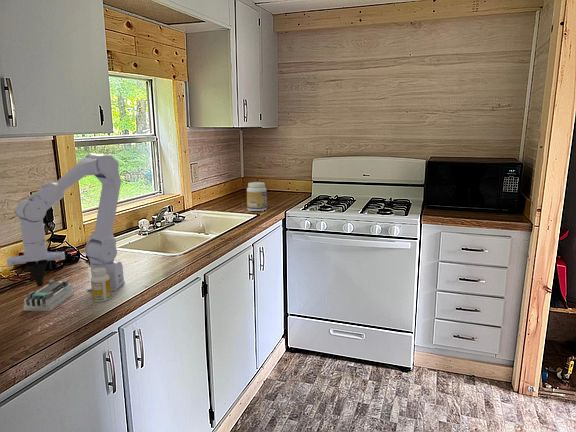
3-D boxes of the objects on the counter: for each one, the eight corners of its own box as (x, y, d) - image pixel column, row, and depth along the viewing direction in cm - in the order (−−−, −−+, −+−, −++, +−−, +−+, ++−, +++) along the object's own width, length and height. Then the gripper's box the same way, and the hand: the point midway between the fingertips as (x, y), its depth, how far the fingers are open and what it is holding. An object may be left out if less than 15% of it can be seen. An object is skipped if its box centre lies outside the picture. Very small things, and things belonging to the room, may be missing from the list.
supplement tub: (266, 212, 262) (266, 184, 259) (246, 212, 262) (245, 184, 258) (267, 208, 274) (266, 181, 271) (247, 208, 274) (247, 181, 270)
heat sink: (49, 293, 141) (47, 279, 139) (73, 293, 140) (72, 279, 139) (23, 310, 128) (21, 295, 127) (50, 311, 127) (48, 295, 126)
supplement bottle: (107, 294, 140) (104, 265, 138) (114, 299, 136) (111, 269, 134) (90, 298, 136) (87, 269, 134) (96, 303, 132) (93, 273, 130)
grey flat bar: (53, 283, 139) (53, 281, 139) (65, 283, 139) (65, 281, 139) (32, 297, 128) (31, 295, 128) (45, 298, 128) (44, 295, 128)
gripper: (63, 235, 133) (68, 277, 136) (7, 240, 127) (14, 284, 130) (61, 240, 126) (67, 284, 129) (3, 246, 121) (10, 292, 124)
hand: (40, 285), depth 129 cm, fingers closed
